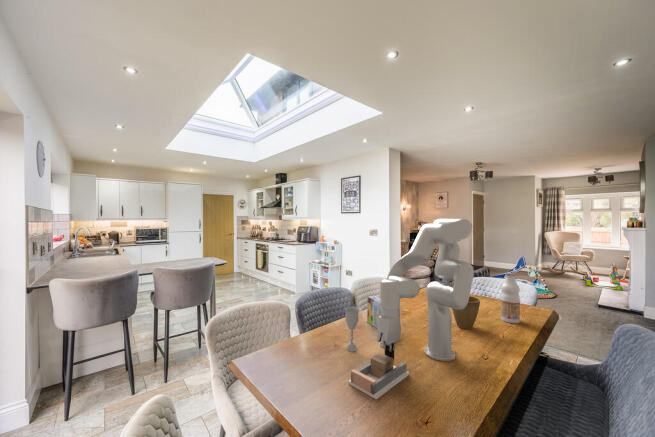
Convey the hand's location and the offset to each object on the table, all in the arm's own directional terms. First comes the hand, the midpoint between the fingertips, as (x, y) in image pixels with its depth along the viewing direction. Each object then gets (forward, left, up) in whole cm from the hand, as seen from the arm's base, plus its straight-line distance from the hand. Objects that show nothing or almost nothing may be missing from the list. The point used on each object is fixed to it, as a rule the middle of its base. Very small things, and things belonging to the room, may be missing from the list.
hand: (389, 359), depth 106 cm
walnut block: (+5, 0, -4) cm, 6 cm away
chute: (+6, 0, -5) cm, 8 cm away
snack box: (-35, -28, -5) cm, 45 cm away
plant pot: (-71, +3, -5) cm, 71 cm away
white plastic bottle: (-101, +18, -5) cm, 102 cm away
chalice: (-5, -23, -5) cm, 24 cm away
